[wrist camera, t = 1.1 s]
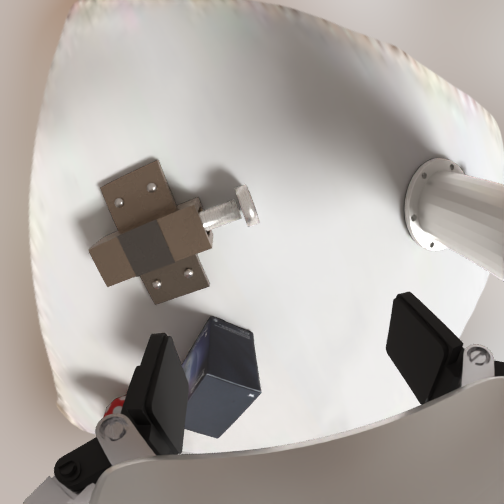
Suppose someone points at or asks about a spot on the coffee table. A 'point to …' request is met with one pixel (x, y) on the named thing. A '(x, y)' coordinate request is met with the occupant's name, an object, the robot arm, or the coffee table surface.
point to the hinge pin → (231, 211)
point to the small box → (220, 377)
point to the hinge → (152, 236)
